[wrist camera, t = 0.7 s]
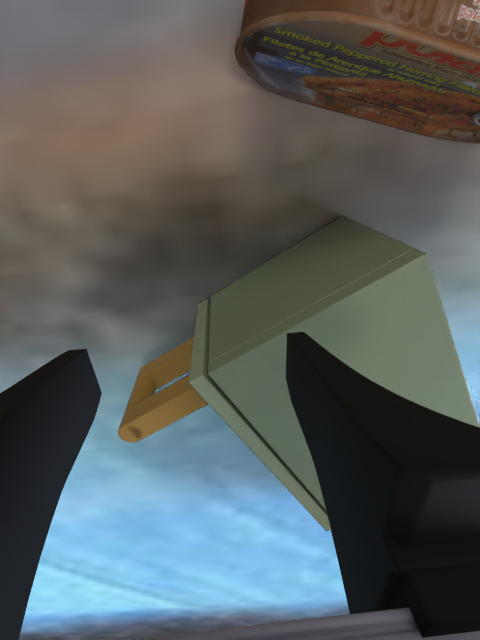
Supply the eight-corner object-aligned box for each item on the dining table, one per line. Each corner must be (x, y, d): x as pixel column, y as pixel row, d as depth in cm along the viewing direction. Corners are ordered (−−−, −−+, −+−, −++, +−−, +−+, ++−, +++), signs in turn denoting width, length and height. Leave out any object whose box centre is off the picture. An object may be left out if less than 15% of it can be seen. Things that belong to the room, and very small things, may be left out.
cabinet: (307, 427, 28) (341, 528, 20) (210, 295, 21) (207, 374, 13) (412, 377, 26) (493, 468, 18) (343, 214, 19) (427, 253, 12)
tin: (229, 82, 16) (241, 15, 8) (241, -1, 14) (271, -174, 7) (480, 151, 18) (667, 149, 11) (513, 86, 16) (756, 30, 9)
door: (239, 460, 29) (247, 562, 22) (127, 346, 22) (85, 439, 15) (305, 429, 28) (337, 527, 20) (207, 298, 21) (202, 374, 14)
